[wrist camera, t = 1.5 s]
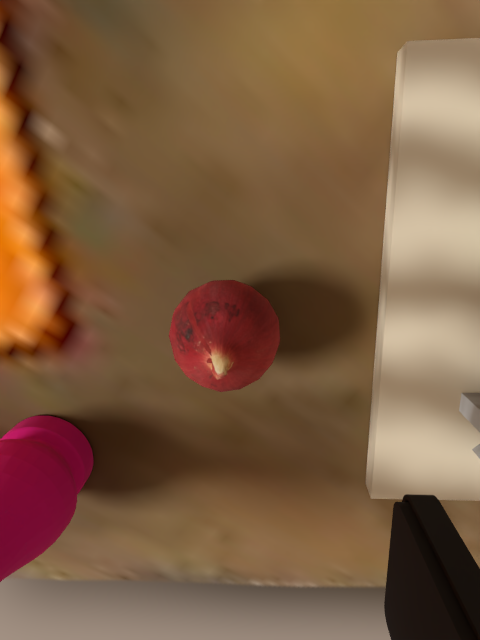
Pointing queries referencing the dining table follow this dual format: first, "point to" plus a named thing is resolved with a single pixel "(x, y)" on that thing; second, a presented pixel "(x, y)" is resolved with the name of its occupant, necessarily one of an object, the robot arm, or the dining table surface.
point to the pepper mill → (38, 486)
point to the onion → (224, 335)
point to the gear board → (430, 282)
